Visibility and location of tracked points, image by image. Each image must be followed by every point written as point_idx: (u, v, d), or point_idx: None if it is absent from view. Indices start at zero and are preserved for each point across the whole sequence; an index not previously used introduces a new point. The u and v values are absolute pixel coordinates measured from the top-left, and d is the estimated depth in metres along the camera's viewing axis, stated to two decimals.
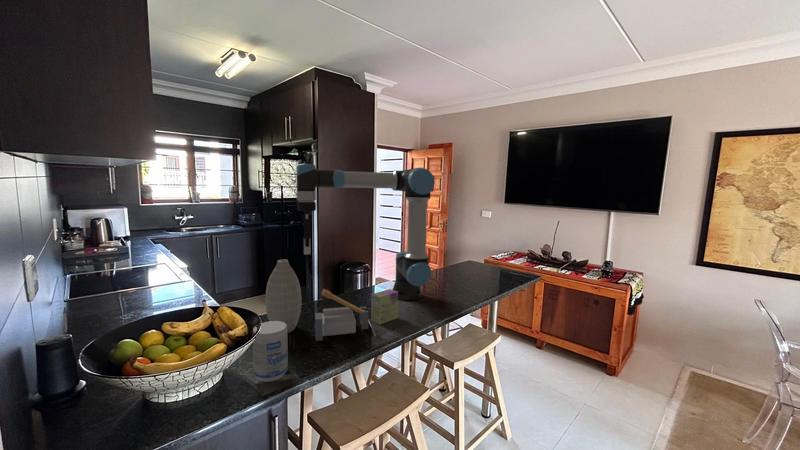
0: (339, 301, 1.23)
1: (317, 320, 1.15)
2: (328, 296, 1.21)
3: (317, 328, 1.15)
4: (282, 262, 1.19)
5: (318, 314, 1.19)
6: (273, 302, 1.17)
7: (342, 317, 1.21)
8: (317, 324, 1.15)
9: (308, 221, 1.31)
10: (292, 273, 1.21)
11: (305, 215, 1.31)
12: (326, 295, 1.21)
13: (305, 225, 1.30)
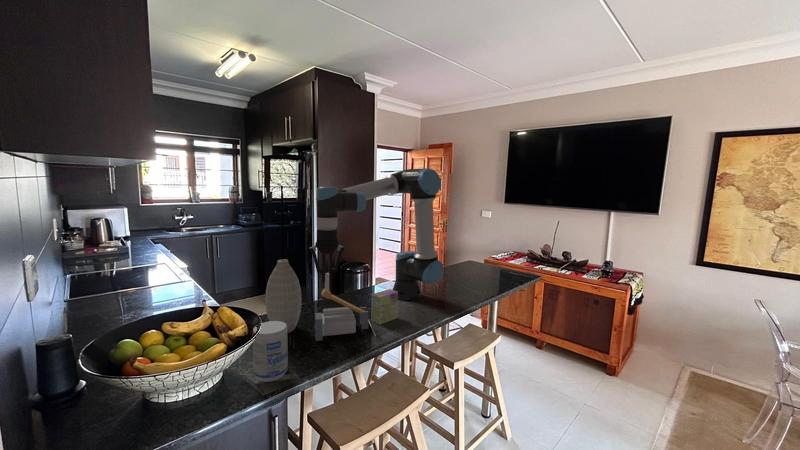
0: (339, 301, 1.23)
1: (317, 320, 1.15)
2: (328, 296, 1.21)
3: (317, 328, 1.15)
4: (282, 262, 1.19)
5: (318, 314, 1.19)
6: (273, 302, 1.17)
7: (342, 317, 1.21)
8: (317, 324, 1.15)
9: None
10: (292, 273, 1.21)
11: None
12: (326, 295, 1.21)
13: None
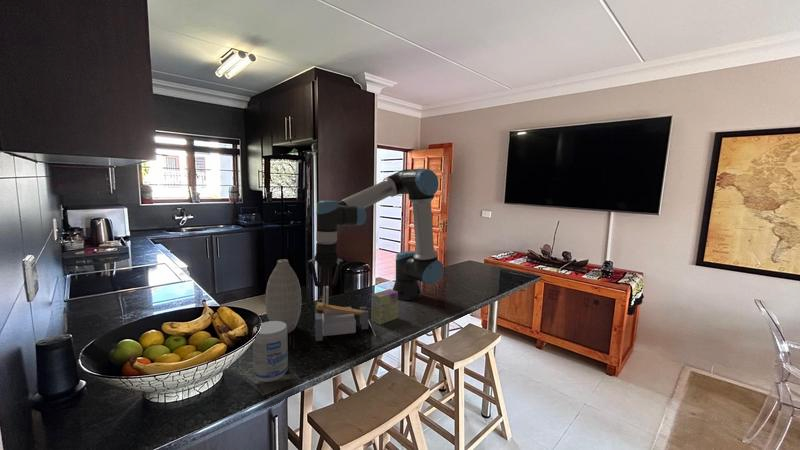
0: (335, 309, 1.23)
1: (317, 320, 1.15)
2: (323, 308, 1.21)
3: (317, 328, 1.15)
4: (282, 262, 1.19)
5: (318, 314, 1.19)
6: (273, 302, 1.17)
7: (342, 317, 1.21)
8: (317, 324, 1.15)
9: None
10: (292, 273, 1.21)
11: None
12: (321, 308, 1.21)
13: None
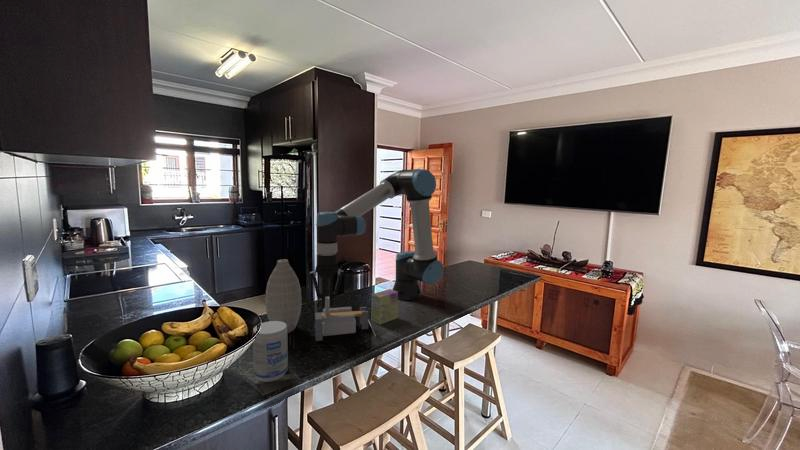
0: None
1: (317, 320, 1.15)
2: None
3: (317, 328, 1.15)
4: (282, 262, 1.19)
5: (318, 314, 1.19)
6: (273, 302, 1.17)
7: (342, 317, 1.21)
8: (317, 324, 1.15)
9: (313, 280, 1.21)
10: (292, 273, 1.21)
11: None
12: None
13: None
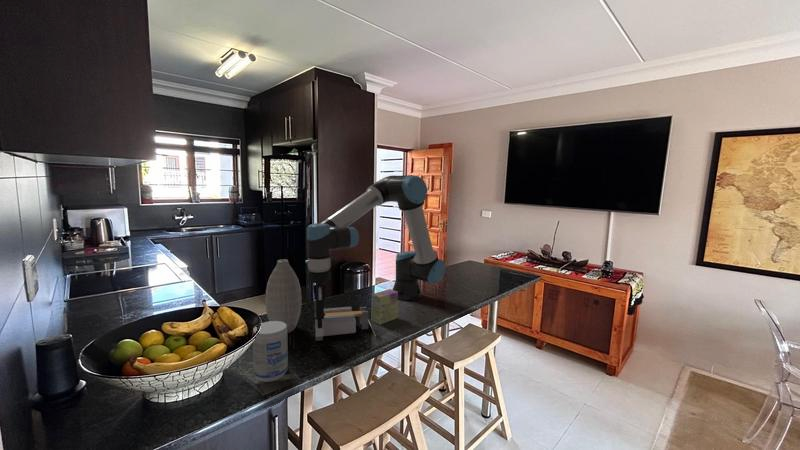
0: None
1: None
2: None
3: None
4: (282, 262, 1.19)
5: None
6: (273, 302, 1.17)
7: (342, 317, 1.21)
8: None
9: (322, 302, 1.07)
10: (292, 273, 1.21)
11: (318, 297, 1.06)
12: None
13: (318, 307, 1.07)
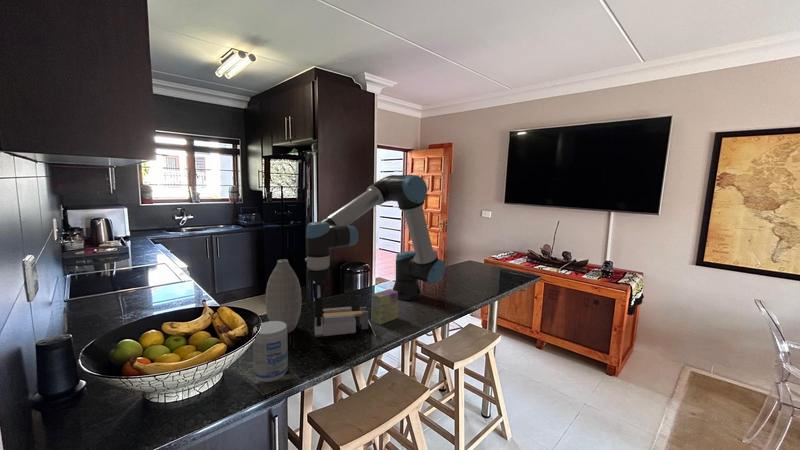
0: None
1: None
2: None
3: None
4: (282, 262, 1.19)
5: None
6: (273, 302, 1.17)
7: (342, 317, 1.21)
8: None
9: (320, 300, 1.08)
10: (292, 273, 1.21)
11: (317, 295, 1.06)
12: None
13: (317, 305, 1.08)
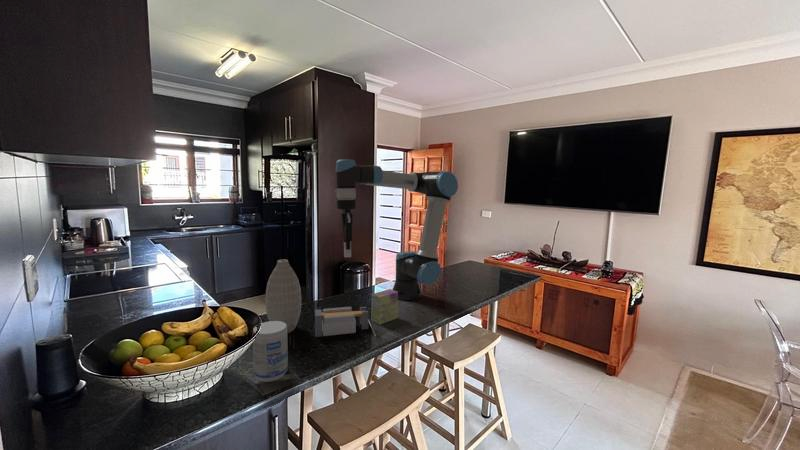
0: None
1: (317, 316, 1.18)
2: (322, 318, 1.22)
3: (316, 324, 1.18)
4: (282, 262, 1.19)
5: (318, 311, 1.22)
6: (273, 302, 1.17)
7: (342, 317, 1.21)
8: (317, 320, 1.18)
9: (350, 225, 1.27)
10: (292, 273, 1.21)
11: (347, 220, 1.25)
12: None
13: (347, 229, 1.27)
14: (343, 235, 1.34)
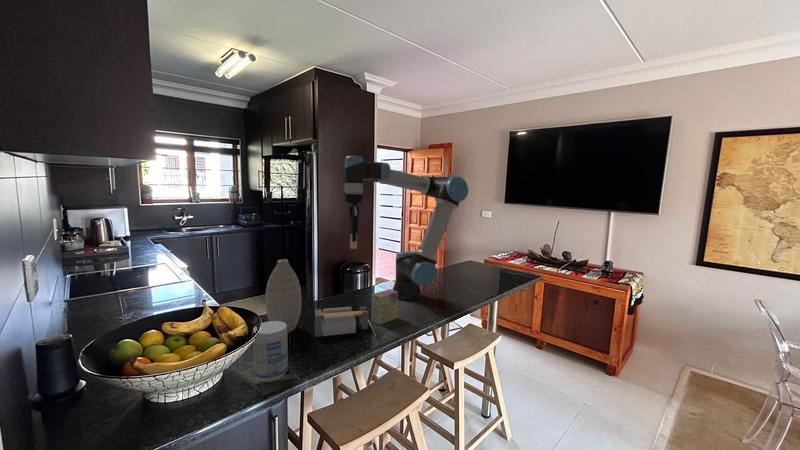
0: None
1: (317, 316, 1.18)
2: (322, 318, 1.22)
3: (316, 324, 1.18)
4: (282, 262, 1.19)
5: (318, 311, 1.22)
6: (273, 302, 1.17)
7: (342, 317, 1.21)
8: (317, 320, 1.18)
9: (356, 218, 1.34)
10: (292, 273, 1.21)
11: (354, 213, 1.32)
12: None
13: (353, 222, 1.34)
14: (350, 228, 1.41)
